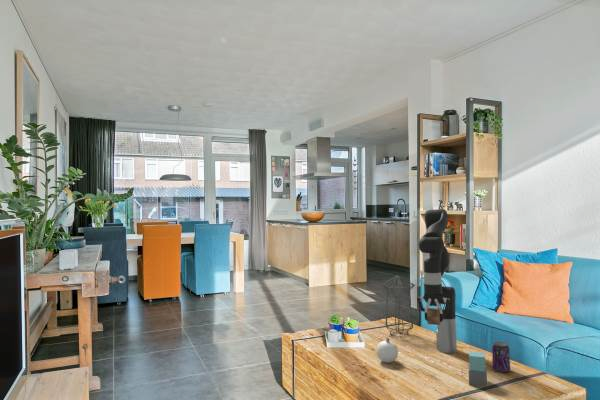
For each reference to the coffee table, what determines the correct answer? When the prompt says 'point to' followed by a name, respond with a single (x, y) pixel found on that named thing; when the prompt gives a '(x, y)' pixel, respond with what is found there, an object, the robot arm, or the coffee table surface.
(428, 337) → the coffee table surface
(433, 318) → the walnut block
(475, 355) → the tower mid
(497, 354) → the beverage can
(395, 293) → the geometric lantern
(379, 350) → the ornament
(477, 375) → the tower base
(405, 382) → the coffee table surface
